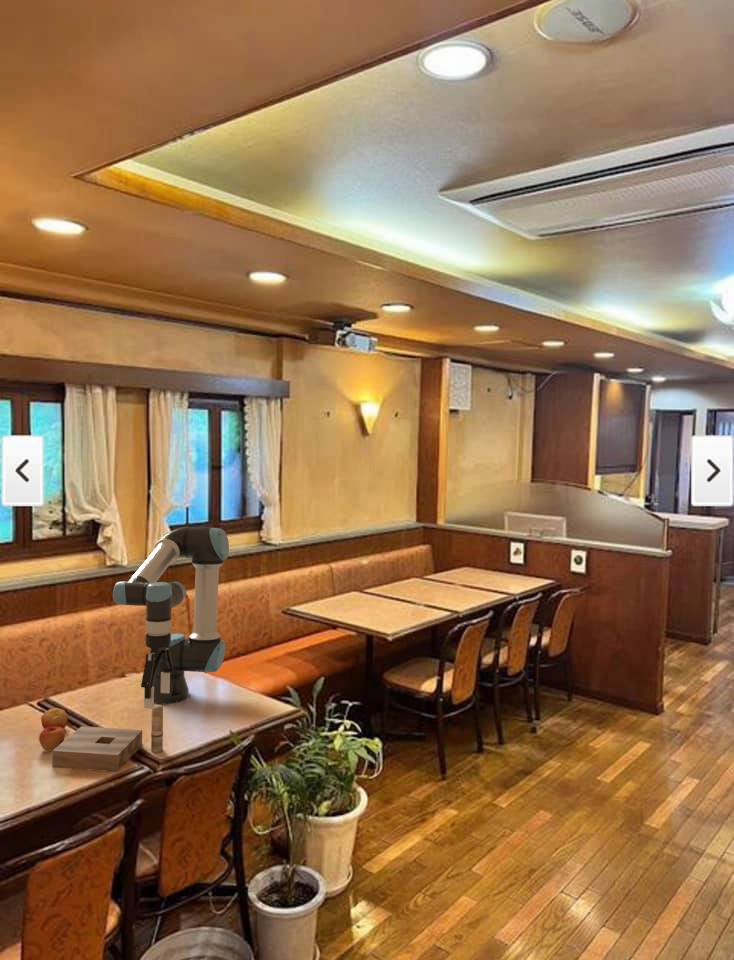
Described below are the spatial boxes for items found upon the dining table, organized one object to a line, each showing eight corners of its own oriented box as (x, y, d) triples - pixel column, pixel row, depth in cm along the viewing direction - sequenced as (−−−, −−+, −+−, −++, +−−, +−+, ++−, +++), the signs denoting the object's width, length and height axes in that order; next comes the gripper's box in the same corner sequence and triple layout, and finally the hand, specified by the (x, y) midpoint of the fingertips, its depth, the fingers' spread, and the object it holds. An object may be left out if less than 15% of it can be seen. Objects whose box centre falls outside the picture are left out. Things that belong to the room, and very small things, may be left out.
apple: (63, 753, 216) (63, 728, 216) (37, 756, 214) (37, 730, 214) (66, 743, 223) (66, 719, 223) (41, 746, 221) (41, 721, 221)
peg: (153, 747, 222) (154, 704, 222) (164, 748, 222) (165, 705, 221) (149, 752, 219) (149, 708, 218) (160, 753, 218) (160, 709, 218)
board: (81, 741, 225) (81, 726, 225) (142, 745, 224) (142, 729, 224) (52, 767, 207) (52, 750, 207) (117, 771, 206) (117, 755, 206)
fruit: (59, 717, 240) (64, 701, 237) (67, 735, 236) (72, 719, 232) (34, 723, 235) (39, 707, 231) (42, 742, 230) (47, 725, 227)
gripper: (161, 622, 231) (160, 686, 232) (130, 643, 206) (128, 714, 207) (183, 623, 230) (182, 687, 231) (154, 644, 206) (153, 715, 206)
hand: (157, 700), depth 219 cm, fingers open, 13 cm apart
